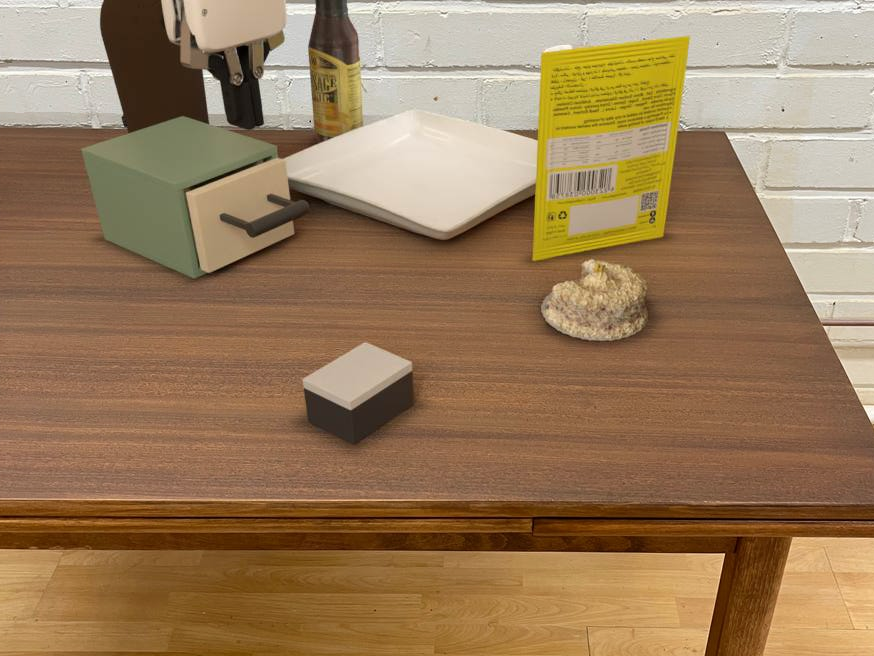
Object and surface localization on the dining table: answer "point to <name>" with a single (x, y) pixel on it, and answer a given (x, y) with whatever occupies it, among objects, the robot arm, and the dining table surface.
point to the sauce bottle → (334, 71)
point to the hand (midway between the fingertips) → (245, 124)
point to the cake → (599, 303)
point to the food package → (606, 144)
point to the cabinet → (162, 184)
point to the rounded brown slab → (149, 66)
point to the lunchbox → (359, 392)
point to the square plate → (420, 172)
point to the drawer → (241, 212)
